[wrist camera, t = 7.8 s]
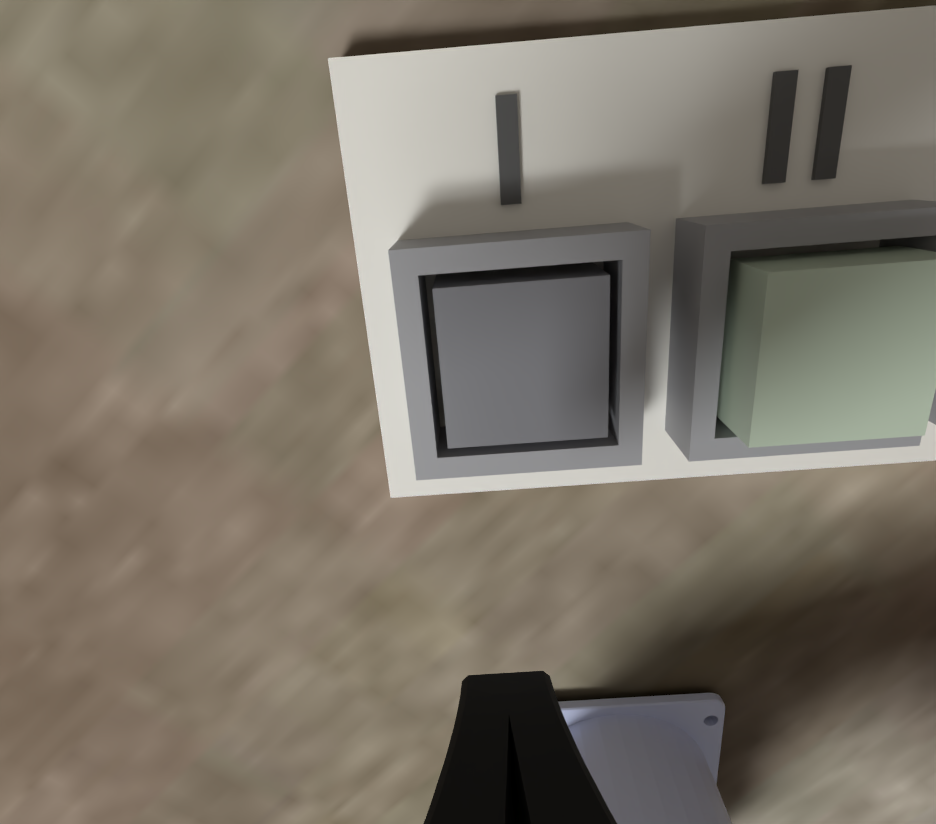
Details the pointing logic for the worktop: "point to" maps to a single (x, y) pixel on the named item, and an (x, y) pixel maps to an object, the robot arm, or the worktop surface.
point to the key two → (829, 346)
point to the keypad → (629, 215)
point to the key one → (524, 354)
